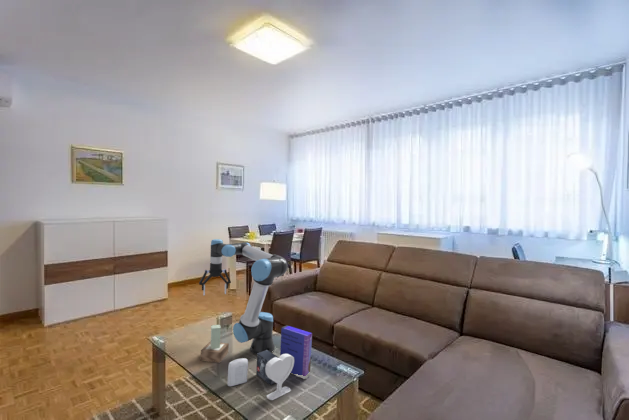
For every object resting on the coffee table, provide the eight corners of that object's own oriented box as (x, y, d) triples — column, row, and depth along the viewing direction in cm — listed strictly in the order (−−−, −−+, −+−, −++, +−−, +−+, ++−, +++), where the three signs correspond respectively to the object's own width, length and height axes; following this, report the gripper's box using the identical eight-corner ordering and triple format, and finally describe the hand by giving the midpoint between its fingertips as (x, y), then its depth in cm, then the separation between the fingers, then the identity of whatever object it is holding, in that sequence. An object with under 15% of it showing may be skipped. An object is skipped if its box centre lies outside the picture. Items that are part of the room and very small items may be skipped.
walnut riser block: (228, 353, 195) (228, 343, 195) (220, 362, 183) (220, 352, 183) (209, 350, 196) (210, 341, 196) (200, 360, 184) (200, 349, 184)
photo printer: (245, 378, 169) (246, 355, 168) (248, 382, 165) (249, 358, 165) (226, 383, 163) (227, 359, 163) (229, 387, 159) (230, 363, 159)
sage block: (219, 344, 193) (219, 324, 192) (219, 347, 188) (220, 327, 188) (210, 345, 191) (211, 325, 191) (211, 348, 186) (211, 328, 186)
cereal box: (309, 375, 174) (312, 332, 173) (305, 379, 170) (307, 335, 169) (284, 365, 183) (286, 324, 182) (279, 369, 179) (281, 327, 178)
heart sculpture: (269, 401, 150) (271, 364, 149) (263, 396, 153) (264, 360, 153) (294, 389, 161) (295, 354, 160) (287, 384, 164) (289, 350, 164)
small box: (255, 374, 172) (256, 353, 172) (265, 370, 177) (266, 349, 177) (270, 385, 163) (271, 362, 163) (280, 380, 168) (281, 358, 168)
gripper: (234, 261, 219) (233, 291, 219) (195, 262, 209) (194, 293, 210) (236, 263, 212) (234, 294, 212) (196, 264, 202) (195, 297, 203)
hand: (214, 294), depth 211 cm, fingers open, 13 cm apart
